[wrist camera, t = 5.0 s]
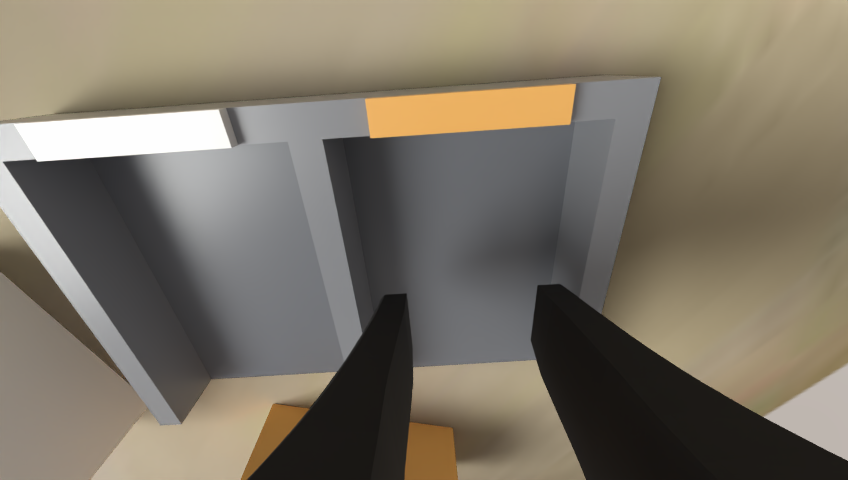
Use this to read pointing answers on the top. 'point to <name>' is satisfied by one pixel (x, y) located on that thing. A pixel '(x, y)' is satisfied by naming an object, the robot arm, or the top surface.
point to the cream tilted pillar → (55, 397)
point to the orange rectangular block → (425, 459)
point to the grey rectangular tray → (325, 221)
